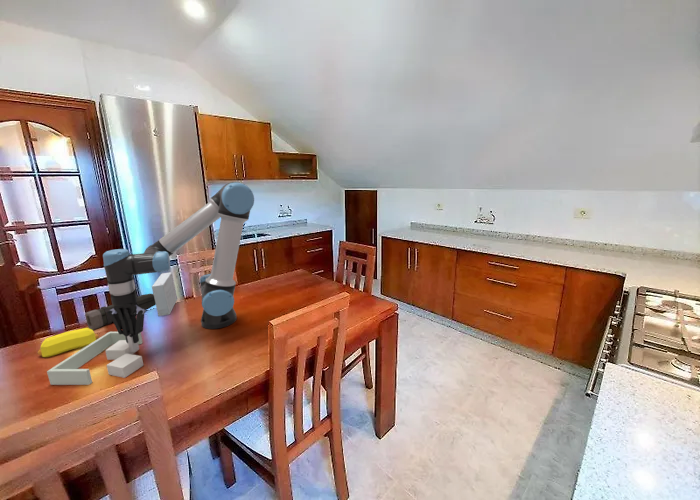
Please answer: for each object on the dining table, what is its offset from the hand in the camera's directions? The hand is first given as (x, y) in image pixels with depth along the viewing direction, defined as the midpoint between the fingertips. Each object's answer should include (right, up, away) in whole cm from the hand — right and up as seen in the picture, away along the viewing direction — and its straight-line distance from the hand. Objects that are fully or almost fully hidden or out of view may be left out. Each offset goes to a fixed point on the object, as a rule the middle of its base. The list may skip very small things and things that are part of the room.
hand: (134, 350), depth 114 cm
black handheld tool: (-27, +5, +32) cm, 42 cm away
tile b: (+4, -4, -9) cm, 11 cm away
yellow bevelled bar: (-29, -1, +5) cm, 29 cm away
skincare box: (-13, +8, +41) cm, 44 cm away
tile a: (-4, -2, 0) cm, 5 cm away
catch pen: (-9, -3, -4) cm, 10 cm away
